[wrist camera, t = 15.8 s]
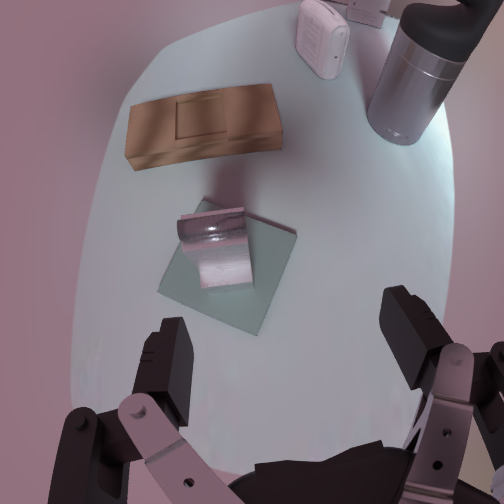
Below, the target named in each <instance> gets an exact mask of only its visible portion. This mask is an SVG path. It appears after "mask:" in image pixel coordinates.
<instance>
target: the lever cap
mask: <svg viewBox="0 0 504 504" xmlns="http://www.w3.org/2000/svg"><path fill="white" fill-rule="evenodd" d="M177 231H178V236H179V239H180V241H182V251H183V253H184V254H185V255H186V257H187V258H188V259H189V260H190V262H191V263H192V264H193V265H194V266H195V268H196V269H197V270H198V271H199V273H200V282H201V288H202V289H203V290H204V291H205V292H206V293H207V294H208V295H210V294H218V293H227V292H235V291H243V290H251V289H254V286H253V278H252V270H251V262H250V254H249V247H248V239H247V231H246V223H245V215H244V207H239V208H232V209H224V210H217V211H209V212H202V213H195V214H188V215H181V220H178V221H177Z"/></svg>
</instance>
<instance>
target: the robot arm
mask: <svg viewBox="0 0 504 504" xmlns="http://www.w3.org/2000/svg"><path fill="white" fill-rule="evenodd" d="M457 1H458V2H460V4H458V5H455V6H437V5H430V4H423V3H413V4H410V5H408V6H406V8H405V9H404V11H403V13H402V16H401V19H400V23H399V25H398V28H397V31H396V34H395V37H394V40H393V43H392V46H391V49H390V52H389V54H388V57H387V60H386V63H385V65H384V68H383V71H382V73H381V76H380V79H379V81H378V84H377V87H376V89H375V92H374V94H373V97H372V100H371V102H370V105H369V107H368V110H367V117H368V121H369V123H370V125H371V126H372V128H373V129H374V130H375V131H376V132H377V133H378V134H379V135H380V136H382V137H383V138H384V139H386V140H388V141H390V142H392V143H395V144H399V145H411V144H414V143H416V142H417V141H418V140H419V138H420V137H421V135H422V134H423V132H424V131H425V129H426V128H427V126H428V125H429V123H430V122H431V120H432V118H433V117H434V115H435V114H436V112H437V110H438V109H439V107H440V106H441V104H442V102H443V101H444V99H445V97H446V96H447V94H448V92H449V91H450V89H451V88H452V86H453V84H454V82H455V81H456V79H457V77H458V75H459V74H460V72H461V70H462V68H463V67H464V65H465V63H466V61H467V60H468V58H469V56H470V55H471V53H472V52H473V50H474V49H475V47H476V46H477V45H478V43H479V42H480V40H481V38H482V36H483V34H484V33H485V31H486V29H487V27H488V26H489V24H490V22H491V21H492V19H493V18H494V16H495V14H496V13H497V11H498V10H499V8H500V6H501V5H502V3H503V1H504V0H457ZM379 324H380V328H381V331H382V333H383V335H384V337H385V339H386V341H387V343H388V345H389V347H390V349H391V351H392V353H393V355H394V357H395V359H396V361H397V363H398V365H399V367H400V369H401V371H402V373H403V375H404V377H405V379H406V381H407V383H408V385H409V387H410V390H414V389H417V388H421V390H422V392H423V393H422V395H421V397H420V401H419V404H418V407H417V410H416V414H415V417H414V420H413V423H412V426H411V429H410V432H409V434H408V436H407V439H406V441H405V443H404V445H403V447H402V449H401V448H395V447H383V444H382V441H381V440H379V441H375V442H372V443H368V444H364V445H361V446H357V447H353V448H350V449H348V450H346V451H344V452H342V453H340V454H338V455H336V456H334V457H331V458H329V459H327V460H325V461H321V462H309V461H292V460H284V461H276V462H268V463H259V464H255V471H253V472H250V473H248V474H246V475H243V476H241V477H240V478H238V479H236V480H235V481H233V482H232V483H230V484H229V485H228V486H227V485H226V484H224V482H223V481H222V480H221V479H220V478H219V477H218V476H217V475H216V474H215V473H214V472H213V471H212V469H211V468H210V467H209V466H208V465H207V464H206V463H205V462H204V461H203V459H202V458H201V457H200V456H199V455H198V454H197V452H196V451H195V450H194V449H193V448H192V447H191V445H190V444H189V443H188V442H187V441H186V440H185V439H184V438H183V437H182V436H181V435H180V433H179V427H184V426H188V419H189V406H190V394H191V383H192V372H193V361H194V352H193V346H192V342H191V339H190V336H189V334H188V331H187V328H186V325H185V322H184V319H183V317H173V318H164V319H163V320H162V323H161V327H160V332H152V333H151V334H150V336H149V337H148V338H147V340H146V341H145V343H144V347H143V351H142V355H141V359H140V363H139V366H138V370H137V375H136V379H135V383H134V387H133V391H132V395H130V396H128V397H126V398H125V399H124V400H123V401H122V402H121V404H120V405H119V408H118V409H115V410H112V411H108V412H104V413H100V414H96V413H95V412H94V411H93V410H92V409H90V408H87V407H80V408H77V409H74V410H73V411H71V412H70V413H69V415H68V416H67V418H66V419H65V423H64V426H63V430H62V434H61V439H60V442H59V447H58V451H57V455H56V461H55V465H54V470H53V475H52V480H51V486H50V492H49V498H48V504H127V494H128V480H129V467H130V462H131V461H136V460H139V459H144V460H145V465H146V467H147V469H148V470H149V472H150V473H151V474H152V476H153V477H154V479H155V480H156V482H157V483H158V485H159V486H160V487H161V489H162V490H163V491H164V493H165V494H166V495H167V497H168V498H169V499H170V501H171V502H172V503H173V504H504V402H503V400H502V398H501V396H500V394H499V392H500V391H501V393H502V395H503V397H504V342H497V343H495V344H494V345H493V346H492V348H491V350H490V352H482V353H472V352H471V350H470V349H469V348H468V347H466V346H464V345H462V344H459V343H454V342H453V341H452V339H451V338H450V336H449V335H448V333H447V332H446V331H445V329H444V328H443V326H442V325H441V323H440V322H439V321H438V319H436V316H435V315H434V313H433V312H431V309H430V308H429V307H428V305H427V304H426V302H425V301H423V300H422V299H420V298H419V297H418V296H416V295H412V296H411V295H410V294H409V292H408V291H407V289H406V288H405V287H404V286H403V285H399V286H394V287H388V288H385V289H384V292H383V298H382V304H381V310H380V315H379ZM472 414H473V417H474V419H475V421H476V423H477V426H478V428H479V431H480V433H481V435H482V438H483V440H484V443H485V445H486V448H487V450H488V453H489V456H490V458H491V461H492V464H493V466H494V469H495V474H494V476H493V480H492V485H491V488H490V490H491V493H492V494H493V496H491V495H489V494H487V493H485V492H483V491H481V490H479V489H477V488H475V487H473V486H471V485H469V484H467V483H466V482H464V481H462V480H460V479H458V476H459V472H460V468H461V465H462V461H463V457H464V453H465V449H466V444H467V440H468V435H469V430H470V425H471V419H472Z"/></svg>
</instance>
